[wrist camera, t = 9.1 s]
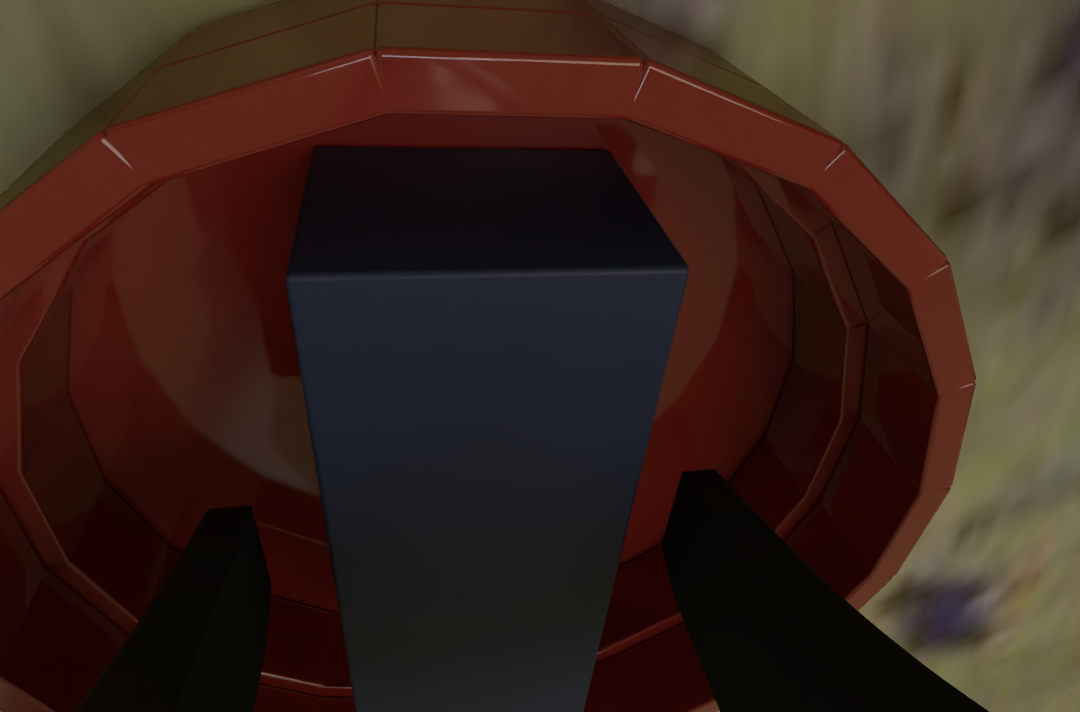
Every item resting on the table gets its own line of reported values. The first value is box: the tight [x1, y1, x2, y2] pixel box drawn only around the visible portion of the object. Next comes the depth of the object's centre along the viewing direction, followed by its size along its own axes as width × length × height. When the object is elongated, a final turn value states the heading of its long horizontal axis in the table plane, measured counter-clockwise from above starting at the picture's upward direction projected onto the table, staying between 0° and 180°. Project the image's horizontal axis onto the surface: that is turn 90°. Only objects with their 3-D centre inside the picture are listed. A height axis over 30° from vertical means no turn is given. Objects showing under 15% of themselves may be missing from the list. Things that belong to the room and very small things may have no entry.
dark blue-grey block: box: [285, 147, 689, 712], centre depth 12 cm, size 11×5×4 cm, turn 175°
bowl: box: [0, 0, 976, 712], centre depth 13 cm, size 16×16×4 cm
